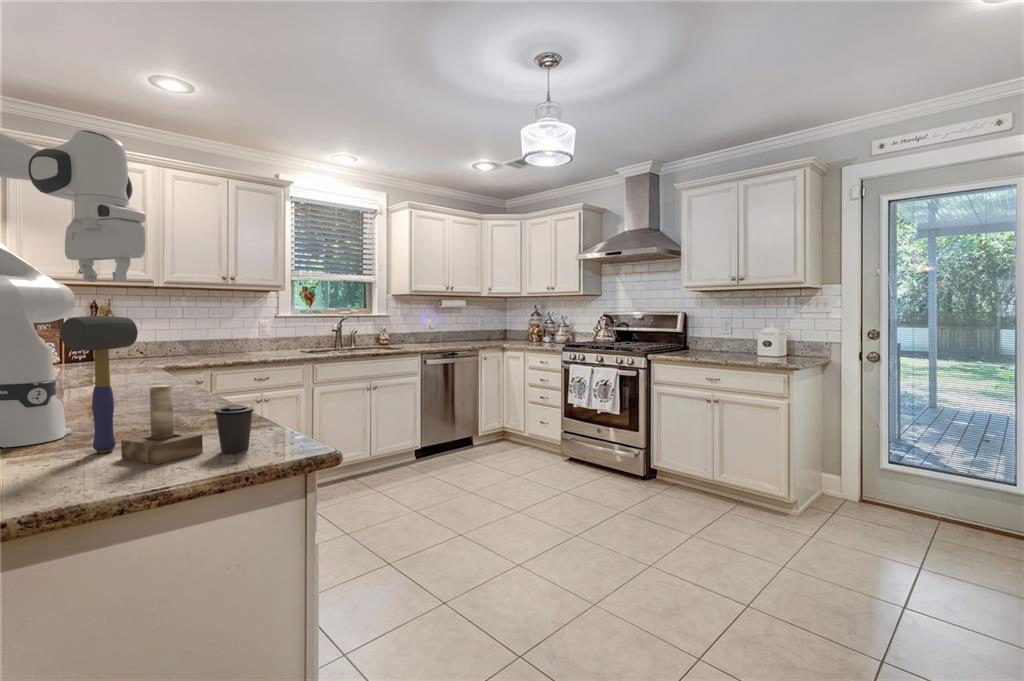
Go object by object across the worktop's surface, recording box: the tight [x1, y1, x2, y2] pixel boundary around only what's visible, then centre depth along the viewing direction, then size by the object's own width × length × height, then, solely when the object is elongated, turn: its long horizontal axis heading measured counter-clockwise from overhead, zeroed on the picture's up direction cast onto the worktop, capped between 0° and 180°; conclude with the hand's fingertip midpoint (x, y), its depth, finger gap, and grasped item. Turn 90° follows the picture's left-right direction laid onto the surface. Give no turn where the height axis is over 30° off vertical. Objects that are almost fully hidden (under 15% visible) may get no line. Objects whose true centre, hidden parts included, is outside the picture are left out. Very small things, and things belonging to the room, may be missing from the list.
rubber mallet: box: [60, 315, 139, 454], centre depth 114 cm, size 12×8×30 cm, turn 167°
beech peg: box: [149, 384, 174, 441], centre depth 111 cm, size 4×4×15 cm
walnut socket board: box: [120, 430, 204, 465], centre depth 112 cm, size 11×10×4 cm
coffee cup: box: [213, 404, 255, 454], centre depth 116 cm, size 8×8×10 cm
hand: (104, 281), depth 107 cm, fingers open, 8 cm apart
